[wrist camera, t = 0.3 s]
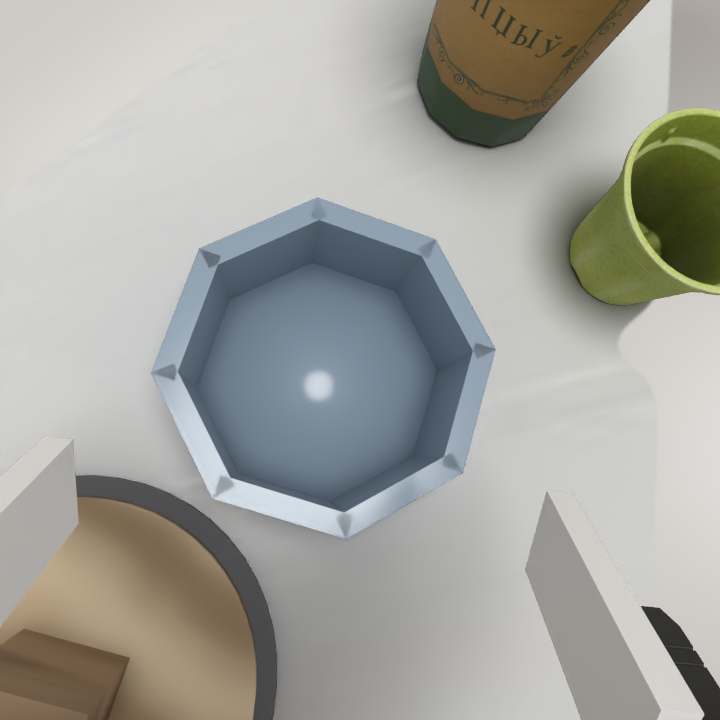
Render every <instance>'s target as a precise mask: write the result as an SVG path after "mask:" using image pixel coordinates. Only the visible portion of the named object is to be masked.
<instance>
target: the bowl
mask: <svg viewBox="0 0 720 720" xmlns="http://www.w3.org/2000/svg"><path fill="white" fill-rule="evenodd" d="M495 350H496V349H495V347H494V345H493V344H492V342H491V340H490V338H489V336H488V334H487V333H486V331H485V329H484V327H483V325H482V323H481V322H480V320H479V318H478V316H477V314H476V312H475V311H474V309H473V307H472V305H471V303H470V301H469V300H468V298H467V296H466V294H465V292H464V290H463V288H462V287H461V285H460V283H459V281H458V279H457V277H456V276H455V274H454V272H453V270H452V268H451V266H450V265H449V263H448V261H447V259H446V257H445V255H444V254H443V252H442V250H441V248H440V246H439V244H438V243H437V241H436V239H433V238H430V237H428V236H425V235H422V234H419V233H416V232H413V231H411V230H408V229H405V228H402V227H399V226H397V225H394V224H391V223H388V222H385V221H382V220H380V219H377V218H374V217H371V216H368V215H365V214H363V213H360V212H357V211H354V210H351V209H348V208H346V207H343V206H340V205H337V204H334V203H332V202H329V201H326V200H323V199H320V198H315V199H312V200H310V201H308V202H305V203H303V204H301V205H299V206H296V207H294V208H292V209H289V210H287V211H285V212H282V213H280V214H278V215H275V216H273V217H271V218H268V219H266V220H264V221H262V222H259V223H257V224H255V225H252V226H250V227H248V228H245V229H243V230H241V231H238V232H236V233H234V234H232V235H229V236H227V237H225V238H222V239H220V240H218V241H215V242H213V243H211V244H208V245H206V246H204V247H201V248H199V250H198V253H197V255H196V258H195V260H194V263H193V266H192V268H191V271H190V273H189V276H188V279H187V281H186V284H185V286H184V289H183V291H182V294H181V297H180V299H179V302H178V304H177V307H176V310H175V312H174V315H173V317H172V320H171V323H170V325H169V328H168V330H167V333H166V336H165V338H164V341H163V343H162V346H161V348H160V351H159V354H158V356H157V359H156V361H155V364H154V367H153V369H152V372H151V375H152V377H153V379H154V381H155V383H156V385H157V387H158V389H159V391H160V393H161V395H162V397H163V399H164V401H165V403H166V405H167V407H168V409H169V411H170V413H171V415H172V417H173V419H174V421H175V423H176V426H177V428H178V430H179V432H180V434H181V436H182V438H183V440H184V442H185V444H186V446H187V448H188V450H189V452H190V454H191V456H192V458H193V460H194V462H195V464H196V466H197V468H198V470H199V472H200V475H201V477H202V479H203V481H204V483H205V485H206V487H207V489H208V491H209V493H210V495H211V497H212V499H215V500H219V501H222V502H225V503H229V504H232V505H235V506H239V507H242V508H245V509H248V510H252V511H255V512H258V513H262V514H265V515H268V516H272V517H275V518H278V519H281V520H285V521H288V522H291V523H295V524H298V525H301V526H305V527H308V528H311V529H315V530H318V531H321V532H324V533H328V534H331V535H334V536H338V537H341V538H344V539H347V538H349V537H351V536H353V535H354V534H356V533H358V532H360V531H361V530H363V529H365V528H367V527H369V526H370V525H372V524H374V523H376V522H377V521H379V520H381V519H383V518H384V517H386V516H388V515H390V514H391V513H393V512H395V511H397V510H398V509H400V508H402V507H404V506H405V505H407V504H409V503H411V502H412V501H414V500H416V499H418V498H419V497H421V496H423V495H425V494H426V493H428V492H430V491H432V490H433V489H435V488H437V487H439V486H440V485H442V484H444V483H446V482H447V481H449V480H451V479H453V478H454V477H456V476H458V475H460V474H462V473H463V470H464V467H465V463H466V459H467V455H468V451H469V448H470V444H471V440H472V436H473V433H474V429H475V425H476V421H477V418H478V414H479V410H480V406H481V402H482V399H483V395H484V391H485V387H486V384H487V380H488V376H489V372H490V369H491V365H492V361H493V357H494V353H495Z"/></svg>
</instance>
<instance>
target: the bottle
mask: <svg viewBox="0 0 720 720" xmlns="http://www.w3.org/2000/svg"><path fill="white" fill-rule="evenodd" d="M649 1H650V0H437V1H436V4H435V8H434V12H433V15H432V19H431V23H430V26H429V30H428V34H427V37H426V41H425V44H424V48H423V53H422V58H421V63H420V69H419V74H418V80H417V82H418V85H419V87H420V90H421V92H422V95H423V98H424V100H425V103H426V105H427V108H428V111H429V113H430V114H431V115H432V116H433V117H434V118H435V119H436V120H437V121H439V122H440V123H441V124H442V125H443V126H444V127H445V128H447V129H448V130H449V131H450V132H451V133H452V134H453V135H455V136H456V137H457V138H460V139H464V140H468V141H472V142H476V143H480V144H484V145H488V146H496V145H499V144H503V143H507V142H511V141H514V140H518V139H522V138H524V137H525V136H526V135H527V134H528V133H529V132H530V131H531V130H532V129H533V127H534V126H535V125H536V124H537V123H538V122H539V121H540V120H541V119H542V118H543V117H544V115H545V114H546V113H547V112H548V111H549V110H550V109H551V108H552V107H553V106H554V105H555V103H556V102H557V101H558V100H559V99H560V98H561V97H562V96H563V95H564V94H565V93H566V91H567V90H568V89H569V88H570V87H571V86H572V85H573V84H574V83H575V82H576V81H577V80H578V78H579V77H580V76H581V75H582V74H583V73H584V72H585V71H586V70H587V69H588V68H589V66H590V65H591V64H592V63H593V62H594V61H595V60H596V59H597V58H598V57H599V56H600V54H601V53H602V52H603V51H604V50H605V49H606V48H607V47H608V46H609V45H610V44H611V42H612V41H613V40H614V39H615V38H616V37H617V36H618V35H619V34H620V33H621V32H622V30H623V29H624V28H625V27H626V26H627V25H628V24H629V23H630V22H631V21H632V20H633V19H634V17H635V16H636V15H637V14H638V13H639V12H640V11H641V10H642V9H643V8H644V7H645V5H646V4H647V3H648V2H649Z"/></svg>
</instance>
